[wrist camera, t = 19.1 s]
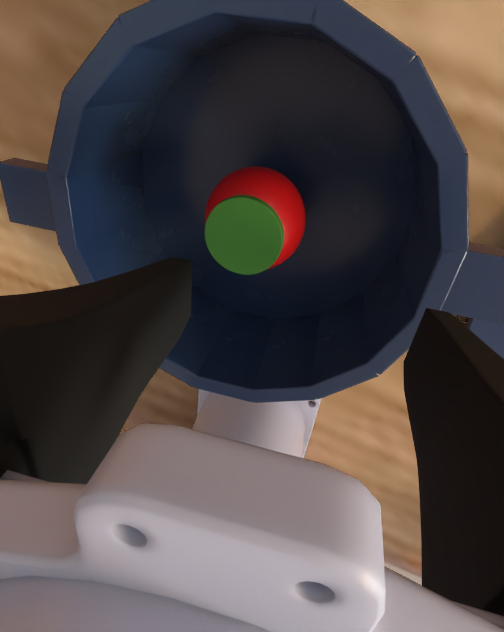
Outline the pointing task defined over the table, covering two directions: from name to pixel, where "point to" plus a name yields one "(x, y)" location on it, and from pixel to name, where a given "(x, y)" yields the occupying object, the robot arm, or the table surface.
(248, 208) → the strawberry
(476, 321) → the lid
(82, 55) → the table surface
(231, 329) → the pot
